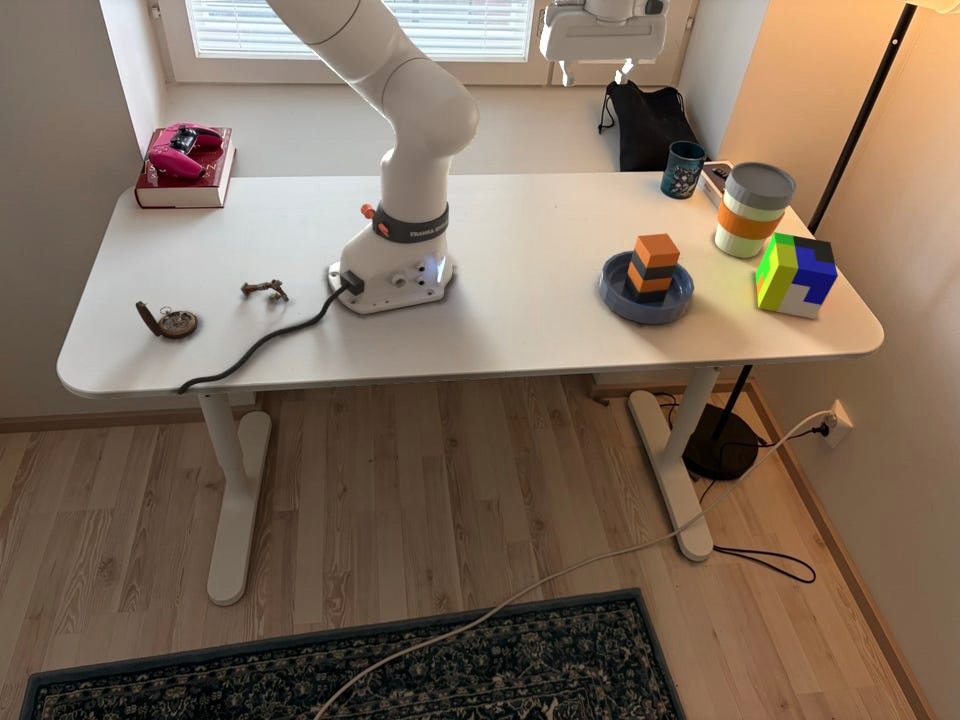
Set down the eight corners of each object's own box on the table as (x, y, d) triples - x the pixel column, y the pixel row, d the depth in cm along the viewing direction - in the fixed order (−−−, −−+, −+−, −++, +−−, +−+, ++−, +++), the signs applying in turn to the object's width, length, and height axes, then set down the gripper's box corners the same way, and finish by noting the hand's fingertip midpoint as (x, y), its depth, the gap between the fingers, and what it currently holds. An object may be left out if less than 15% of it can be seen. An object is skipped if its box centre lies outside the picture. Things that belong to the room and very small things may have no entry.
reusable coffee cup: (695, 244, 144) (718, 179, 133) (721, 218, 151) (745, 154, 141) (754, 271, 139) (783, 206, 128) (778, 243, 147) (807, 178, 136)
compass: (206, 329, 118) (196, 295, 112) (159, 350, 114) (147, 316, 108) (182, 303, 121) (172, 269, 116) (136, 323, 117) (123, 289, 112)
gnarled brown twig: (290, 303, 122) (276, 282, 119) (253, 308, 125) (239, 287, 123) (294, 296, 123) (281, 275, 121) (258, 301, 127) (244, 281, 124)
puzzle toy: (814, 318, 131) (837, 275, 124) (758, 308, 132) (778, 265, 124) (808, 284, 138) (830, 242, 130) (755, 274, 139) (774, 232, 131)
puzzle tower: (635, 304, 129) (650, 255, 121) (624, 284, 133) (637, 235, 125) (664, 301, 130) (680, 252, 122) (651, 281, 134) (667, 233, 126)
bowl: (638, 337, 124) (643, 320, 121) (580, 282, 133) (583, 265, 130) (706, 308, 131) (713, 291, 128) (646, 258, 140) (651, 241, 137)
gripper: (553, 5, 107) (541, 95, 116) (679, 3, 111) (657, 90, 121) (541, -11, 111) (530, 77, 121) (662, -12, 115) (642, 73, 125)
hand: (594, 83), depth 121 cm, fingers open, 8 cm apart
